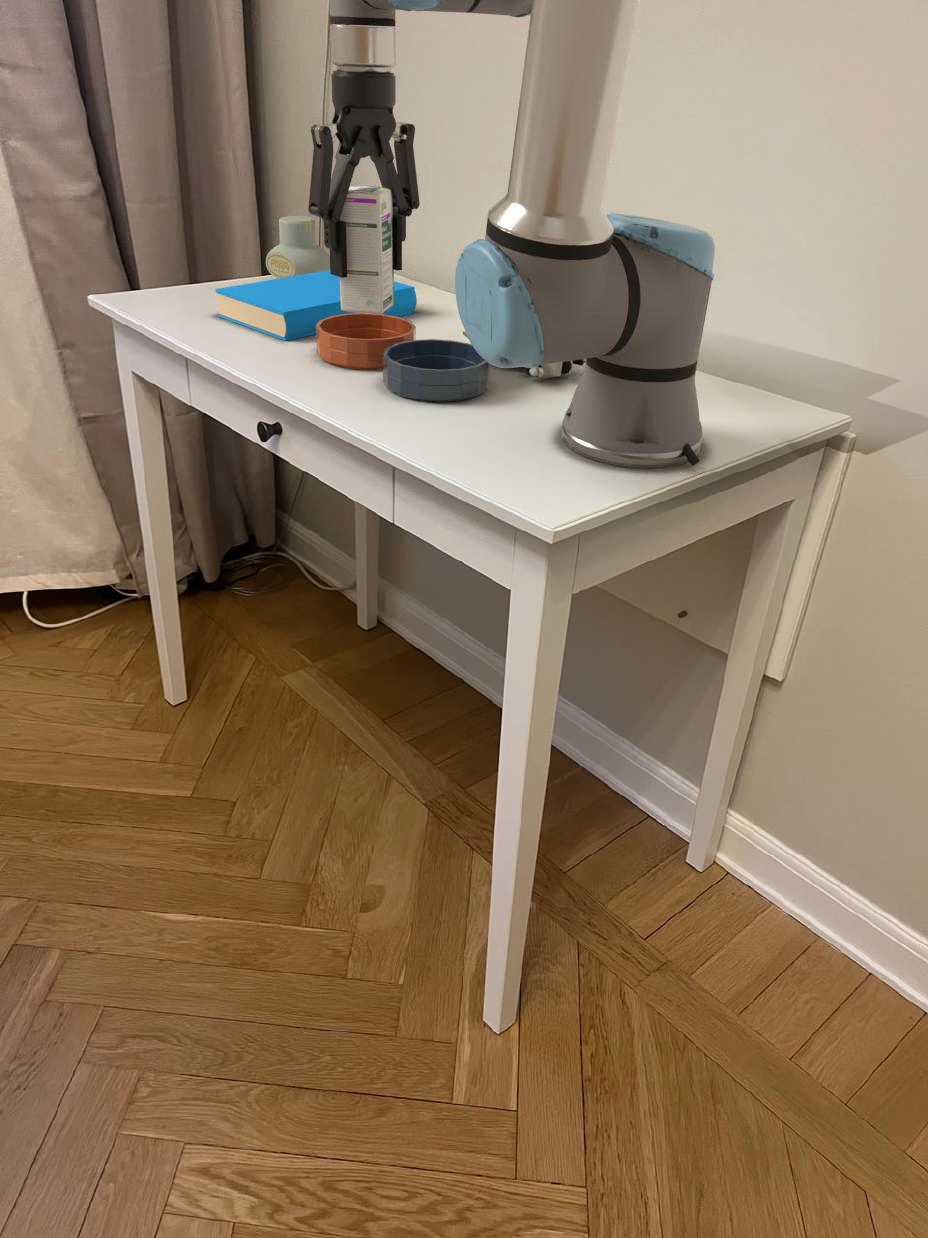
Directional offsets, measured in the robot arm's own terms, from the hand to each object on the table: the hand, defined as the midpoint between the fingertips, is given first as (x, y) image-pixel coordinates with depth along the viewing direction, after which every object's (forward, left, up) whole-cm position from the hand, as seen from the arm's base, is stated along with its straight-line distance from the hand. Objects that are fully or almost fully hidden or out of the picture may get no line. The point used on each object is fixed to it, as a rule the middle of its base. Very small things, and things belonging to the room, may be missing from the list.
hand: (366, 271), depth 127 cm
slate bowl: (-15, 0, -11) cm, 18 cm away
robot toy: (-16, -15, -11) cm, 24 cm away
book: (+21, -6, -11) cm, 25 cm away
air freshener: (+41, -15, -11) cm, 45 cm away
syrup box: (0, 0, -5) cm, 5 cm away
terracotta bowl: (0, 0, -11) cm, 11 cm away
